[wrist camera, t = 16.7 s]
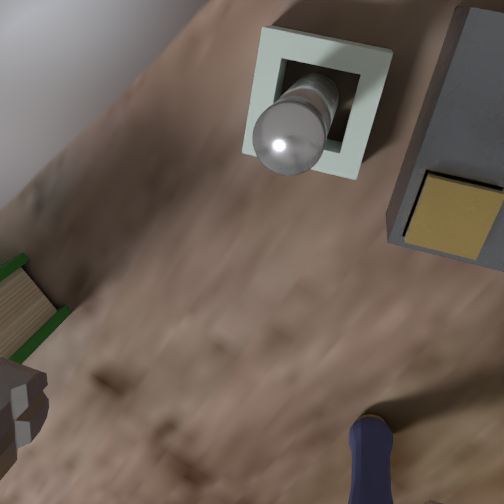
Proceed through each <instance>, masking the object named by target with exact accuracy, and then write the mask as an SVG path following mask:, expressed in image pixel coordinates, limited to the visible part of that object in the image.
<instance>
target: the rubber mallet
mask: <svg viewBox="0 0 504 504" xmlns="http://www.w3.org/2000/svg"><path fill="white" fill-rule="evenodd" d="M349 444H350V448H351V452H352V477H351V491H350V497H349V502H348V504H393V500H392V494H391V477H390V454H391V450H392V445H393V434H392V432H391V429H390V428H389V427H388V425H387V424H386V422H385V421H384V419H382V418H381V417H379V416H377V415H372V414H367V415H362V416H361V417H359V418H358V419H357V420H356V421H355V423H354V424H353V425H352V426H351V428H350V434H349Z"/></svg>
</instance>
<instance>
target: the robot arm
mask: <svg viewBox="0 0 504 504" xmlns="http://www.w3.org/2000/svg"><path fill="white" fill-rule="evenodd" d="M47 385H48V383H47V374H46V373H44V372H41V371H38V370H36V369H33V368H30V367H27V366H25V365H22V364H19V363H17V362H14V361H11V360H8V359H6V358H3V357H0V480H1V479H2V478H3V477H4V475H5V474H6V473H7V472H8V470H9V469H10V468H11V467H12V465H13V464H14V463H15V462H16V461H17V450H18V448H20V447H22V446H24V445H26V444H29V443H31V442H32V441H33V439H34V438H35V437H36V435H37V434H38V433H39V432H40V430H41V428H42V426H43V424H44V422H45V420H46V418H47V414H48V409H49V399H48V398H47V397H46V395H45V394H44V392H43V389H44V388H45V387H46V386H47ZM425 504H442V503H438V502H435V501H432V500H429V501H427V502H425Z"/></svg>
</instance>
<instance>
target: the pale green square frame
mask: <svg viewBox="0 0 504 504" xmlns="http://www.w3.org/2000/svg"><path fill="white" fill-rule="evenodd" d="M392 56H393V52H392V50H391V49H386V48H381V47H376V46H372V45H367V44H362V43H357V42H352V41H347V40H342V39H337V38H332V37H327V36H322V35H317V34H313V33H308V32H303V31H298V30H293V29H288V28H283V27H278V26H273V25H269V26H264V27H262V32H261V38H260V44H259V50H258V56H257V63H256V69H255V75H254V81H253V87H252V93H251V99H250V106H249V112H248V118H247V124H246V130H245V136H244V143H243V149H242V153H244V154H248V155H252V156H257V155H256V153H255V151H254V147H253V141H252V136H253V129H254V126H255V123H256V121H257V120H258V118H259V117H260V115H261V114H262V113H263V112H264V111H265V110H266V109H267V108H268V107H269V106H271V105H272V104H273V103H275V102H276V101H277V100H278V99H279V98H280V96H281V91H282V86H283V80H284V75H285V70H286V65H287V60H288V59H289V60H294V61H298V62H303V63H308V64H313V65H317V66H322V67H327V68H331V69H336V70H341V71H346V72H350V73H355V74H360V78H359V81H358V85H357V89H356V93H355V96H354V100H353V104H352V108H351V111H350V115H349V119H348V123H347V126H346V130H345V134H344V138H343V141H342V142H339V141H335V140H330V139H327V140H326V144H325V147H324V150H323V153H322V155H321V157H320V159H319V161H318V162H317V163H316V164H315V165H314V166H313V167H312V168H311V169H312V170H316V171H320V172H324V173H328V174H333V175H337V176H341V177H345V178H350V179H354V180H356V179H357V175H358V172H359V168H360V165H361V162H362V158H363V155H364V151H365V148H366V145H367V141H368V138H369V134H370V131H371V128H372V124H373V121H374V117H375V114H376V111H377V107H378V104H379V100H380V97H381V94H382V90H383V87H384V83H385V80H386V77H387V73H388V70H389V66H390V63H391V60H392Z"/></svg>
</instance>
